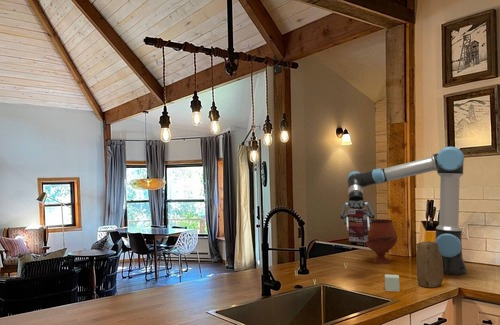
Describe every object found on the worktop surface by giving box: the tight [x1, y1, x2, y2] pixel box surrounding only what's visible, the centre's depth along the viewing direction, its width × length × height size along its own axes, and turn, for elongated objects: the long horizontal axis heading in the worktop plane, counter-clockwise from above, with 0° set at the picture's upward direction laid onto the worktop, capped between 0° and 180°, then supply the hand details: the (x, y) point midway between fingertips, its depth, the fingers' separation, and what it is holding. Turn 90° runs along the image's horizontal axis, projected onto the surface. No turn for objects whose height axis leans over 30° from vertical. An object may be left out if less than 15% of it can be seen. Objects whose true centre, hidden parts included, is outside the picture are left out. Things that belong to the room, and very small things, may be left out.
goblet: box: [364, 218, 398, 265], centre depth 245 cm, size 19×19×25 cm
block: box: [415, 240, 444, 289], centre depth 191 cm, size 11×8×20 cm
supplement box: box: [347, 208, 368, 243], centre depth 208 cm, size 9×5×16 cm, turn 47°
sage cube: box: [384, 273, 401, 292], centre depth 186 cm, size 6×6×6 cm
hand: (358, 228), depth 205 cm, fingers closed on supplement box, 9 cm apart
